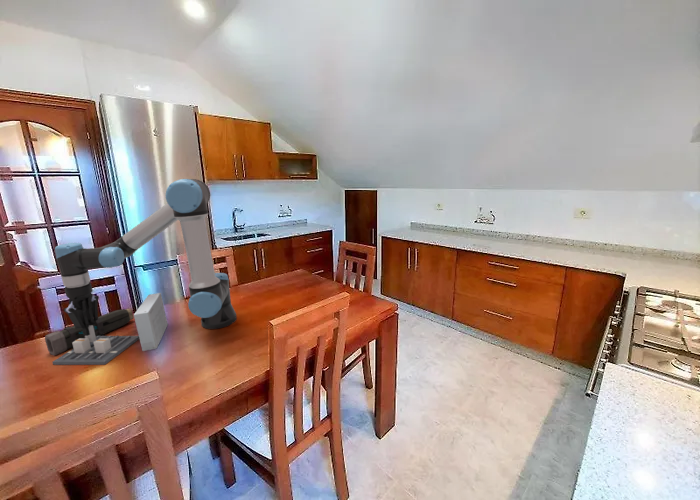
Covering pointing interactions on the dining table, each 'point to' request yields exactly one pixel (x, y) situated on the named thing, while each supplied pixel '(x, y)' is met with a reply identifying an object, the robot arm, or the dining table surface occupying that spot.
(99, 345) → the fader
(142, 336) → the skincare box
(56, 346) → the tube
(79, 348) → the fader
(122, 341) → the console
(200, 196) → the robot arm
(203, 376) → the dining table surface
